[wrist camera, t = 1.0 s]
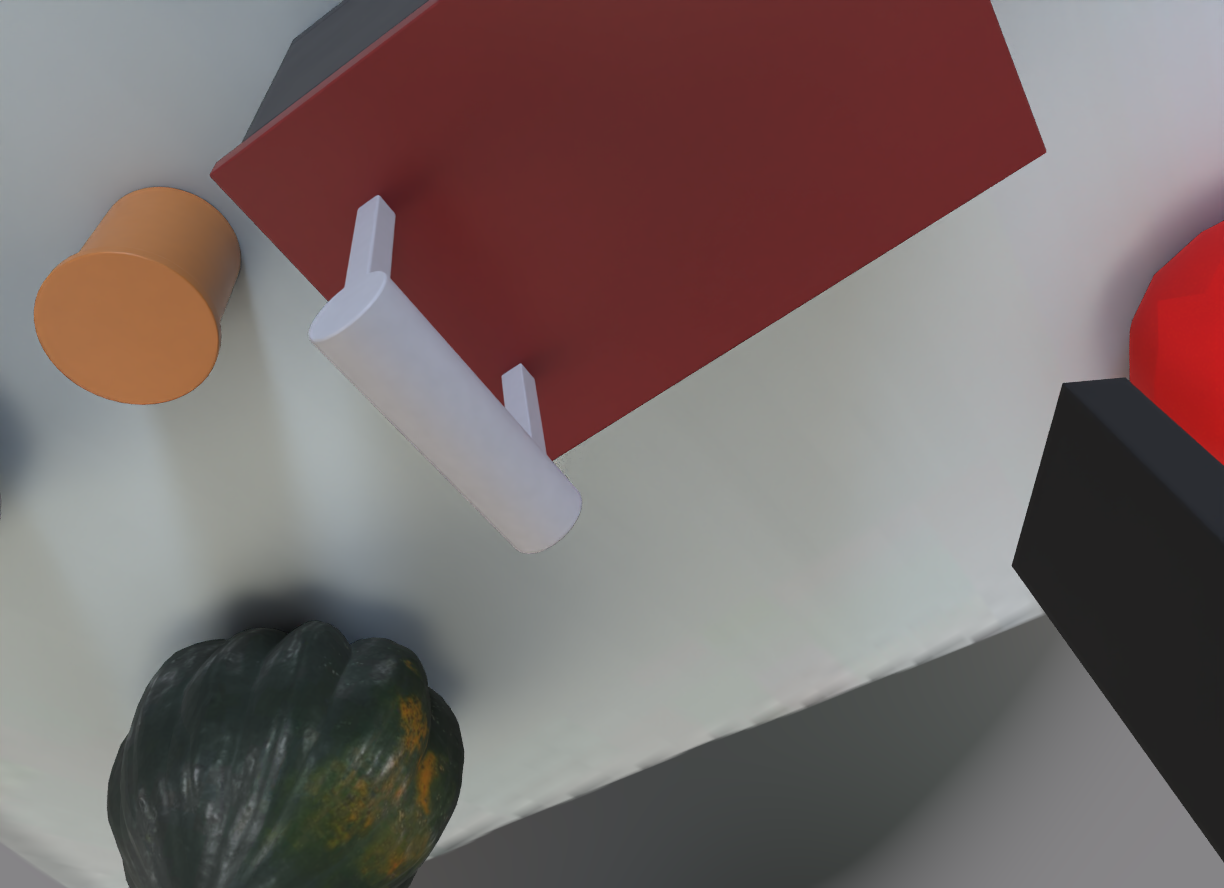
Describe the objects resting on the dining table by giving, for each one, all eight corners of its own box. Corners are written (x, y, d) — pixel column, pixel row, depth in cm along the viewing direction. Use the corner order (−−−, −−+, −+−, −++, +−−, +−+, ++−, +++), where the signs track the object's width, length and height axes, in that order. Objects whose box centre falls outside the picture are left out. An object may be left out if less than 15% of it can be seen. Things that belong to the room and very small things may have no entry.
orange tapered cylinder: (58, 234, 36) (-8, 316, 31) (170, 147, 35) (122, 217, 30) (174, 340, 39) (133, 432, 34) (280, 264, 38) (255, 346, 32)
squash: (521, 842, 51) (432, 973, 36) (251, 920, 52) (58, 1077, 37) (443, 572, 52) (327, 590, 38) (183, 655, 54) (-28, 704, 39)
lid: (504, 473, 31) (522, 660, 25) (214, 163, 25) (136, 306, 18) (1031, 142, 27) (1214, 259, 21) (853, -324, 21) (1039, -361, 15)
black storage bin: (505, 301, 40) (525, 459, 31) (292, 40, 34) (239, 143, 25) (883, 47, 36) (1030, 141, 28) (727, -299, 30) (852, -324, 21)
